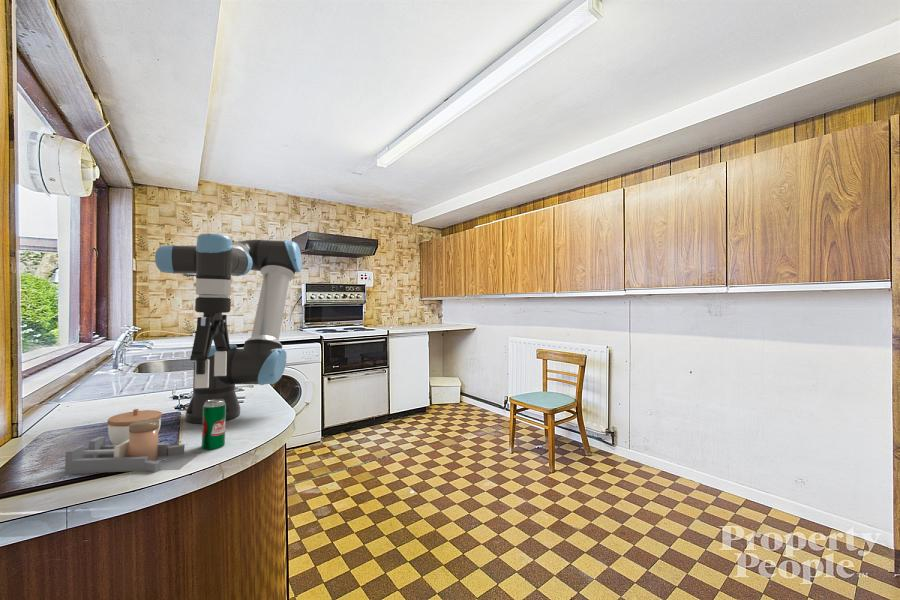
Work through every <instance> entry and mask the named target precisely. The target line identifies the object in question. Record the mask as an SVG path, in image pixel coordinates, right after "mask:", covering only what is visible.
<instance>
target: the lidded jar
mask: <svg viewBox="0 0 900 600" xmlns="http://www.w3.org/2000/svg"><path fill="white" fill-rule="evenodd" d="M162 415H163V413H162V411H160V410H155V409H154V410H151V409H150V410H148V409H143V410H139V409H138V408H134V409H133V411H127V412H124V413H119V414H115V415H113V416H111V417H109V418H108V419H107V434H108V437H109V441H110V442H111V443H112V445H115V444H121V443H123V442H125V441H127V440H129V424H131V423H133V422H136V421H140V420H148V419H157V420H159V429H158V433H159V432H160V429H161V425H162Z"/></svg>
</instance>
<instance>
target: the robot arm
mask: <svg viewBox="0 0 900 600" xmlns="http://www.w3.org/2000/svg"><path fill="white" fill-rule="evenodd" d="M302 261H303V259H302V254H301V249H300V247H299V245H298V243H297V242H295V241H291V240H273V239H272V240H270V239H269V240H268V239H249V240H247V239H246V240H239V241H233V240H232V238H231V236H229V235H225V234H219V233H217V234H216V233H200V234H199V235H197V239H196V245H175V244H172V245H169V244H167V245H161V246H159V247H158V248H157V249H156V251H155V253H154V262H155V263H154V264H155V265H156V267H157V269H158V270H159V271H160V272H162V273H165V274H181V275H183V274H186V275H187V274H191V275H192V274H194V275H195V282H194V283H193V287H195V295H197V297H196V298H195V299H194V300H195V305H194V311H195V312H196V313H199V314H200V313H202V314H203V316H202V317H201V316H200V317H199V316H198V317H197V322H196V331H195V335H194V340H193V344H192V349H191V355H190V356H189V357H190V358H189V360H190V361H193V379H192V380H193V382H192V383H193V385H192V386H193V389H192V397H191V398H190V401H189V404H188V406H187V408H186V411H185V416H184V417H185V420H184V421H185V422H187V423H191V424H202V421H203V406H204V404H205V401H208V400H213V399H223V400H225V401H224V402H225V403H226V421H228V420H231V419H235V418H238V417H239V416H240V415H241V404H240V401H239V400H238V396H237V394H236V385H260V386H263V385H273V384H276V383H277V382H279V381H280V379H281V378H282V376H283V375H284V372H285V369H286V365H287V351H286V350H285V349H284V348H283V344H282V343H281V342H280V335H281V329H282V323H283V317H284V312H285V306H286V301H287V295H288V290H289V283H290V281H292V280H293V279H294V278H295V275H296V273H297V274H298V273H300V272H301V271H302V270H303V269H302V268H303V262H302ZM251 271H256V272H257V271H258V272H260V275H262V276H263V279H262V284H261V287H260V294H259V297H258V302H257V307H256V311H255V317H254V321H253V322H254V323H253V325H252V326H253V328H252V330H251V336H250V337H249V338H248V339H246V340H245V341H244V345H243V348H240V347H239V348H238V346H237V344H236V343H230V338H229V331H228V324H227V323H228V321H227V317H228V316H227V314H226V313H230V312H231V305H232V299H231V298H230V297H229V296H231V295H232V276H234V277H239V276H245V275H247V274H248V273H249V272H251ZM223 313H225V314H223ZM213 343H214V345H213Z"/></svg>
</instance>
